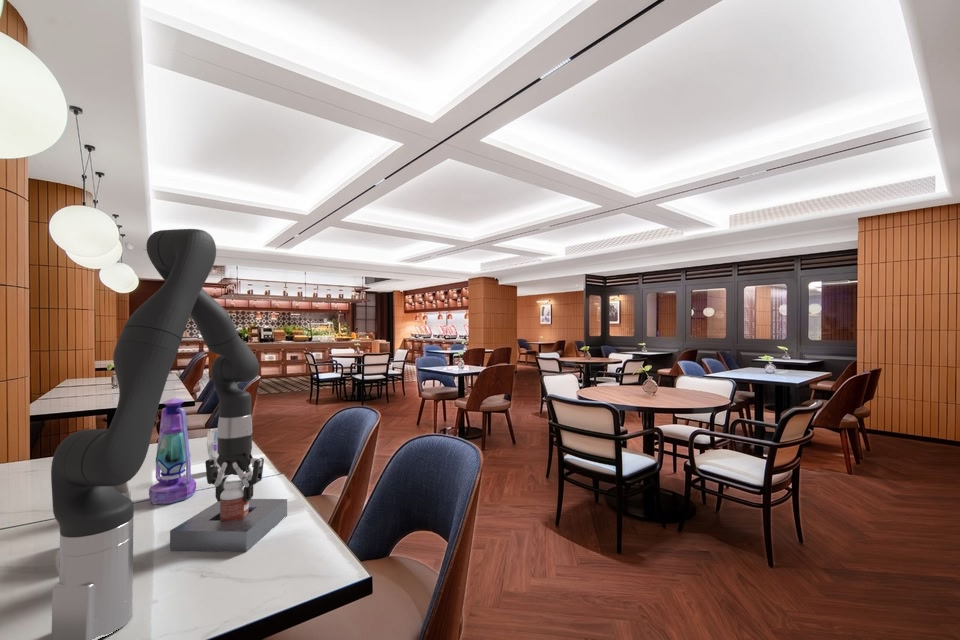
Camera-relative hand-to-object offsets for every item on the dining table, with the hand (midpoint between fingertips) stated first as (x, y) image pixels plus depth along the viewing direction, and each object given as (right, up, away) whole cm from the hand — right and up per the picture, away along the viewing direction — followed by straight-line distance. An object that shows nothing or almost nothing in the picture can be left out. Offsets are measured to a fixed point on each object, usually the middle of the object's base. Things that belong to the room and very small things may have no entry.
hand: (234, 500), depth 103 cm
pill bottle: (0, -6, 0) cm, 6 cm away
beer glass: (-32, -9, +44) cm, 55 cm away
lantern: (-31, -9, +21) cm, 38 cm away
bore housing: (0, -8, -1) cm, 8 cm away
